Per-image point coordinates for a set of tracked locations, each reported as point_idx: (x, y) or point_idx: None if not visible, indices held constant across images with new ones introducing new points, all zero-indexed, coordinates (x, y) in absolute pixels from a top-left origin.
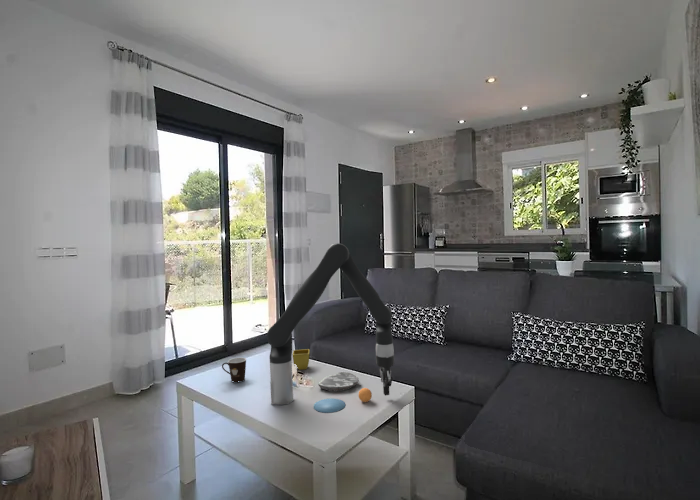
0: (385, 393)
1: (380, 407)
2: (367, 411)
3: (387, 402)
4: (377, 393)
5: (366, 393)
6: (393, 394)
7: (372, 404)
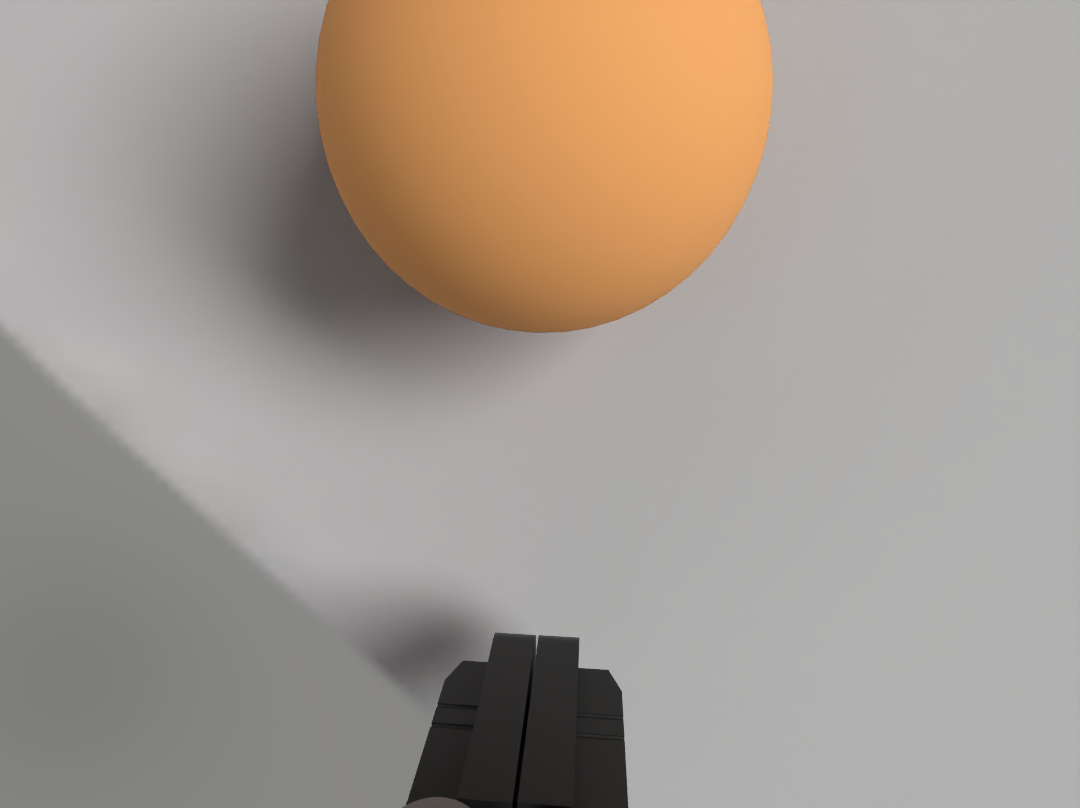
0: (466, 677)
1: (187, 389)
2: (19, 55)
3: (391, 582)
4: (913, 531)
5: (327, 112)
6: (725, 789)
7: (360, 265)
